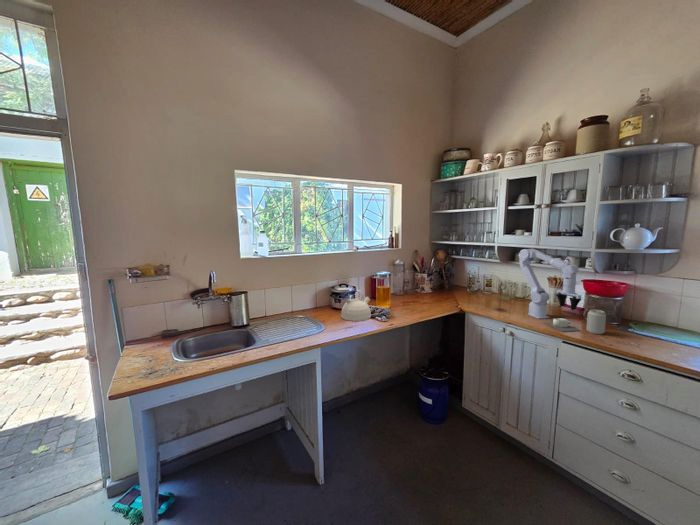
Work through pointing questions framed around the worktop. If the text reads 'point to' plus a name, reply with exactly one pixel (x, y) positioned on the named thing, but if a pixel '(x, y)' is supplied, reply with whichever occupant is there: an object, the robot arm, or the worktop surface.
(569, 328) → the mat
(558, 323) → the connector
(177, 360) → the worktop surface
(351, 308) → the kettle
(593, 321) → the can
